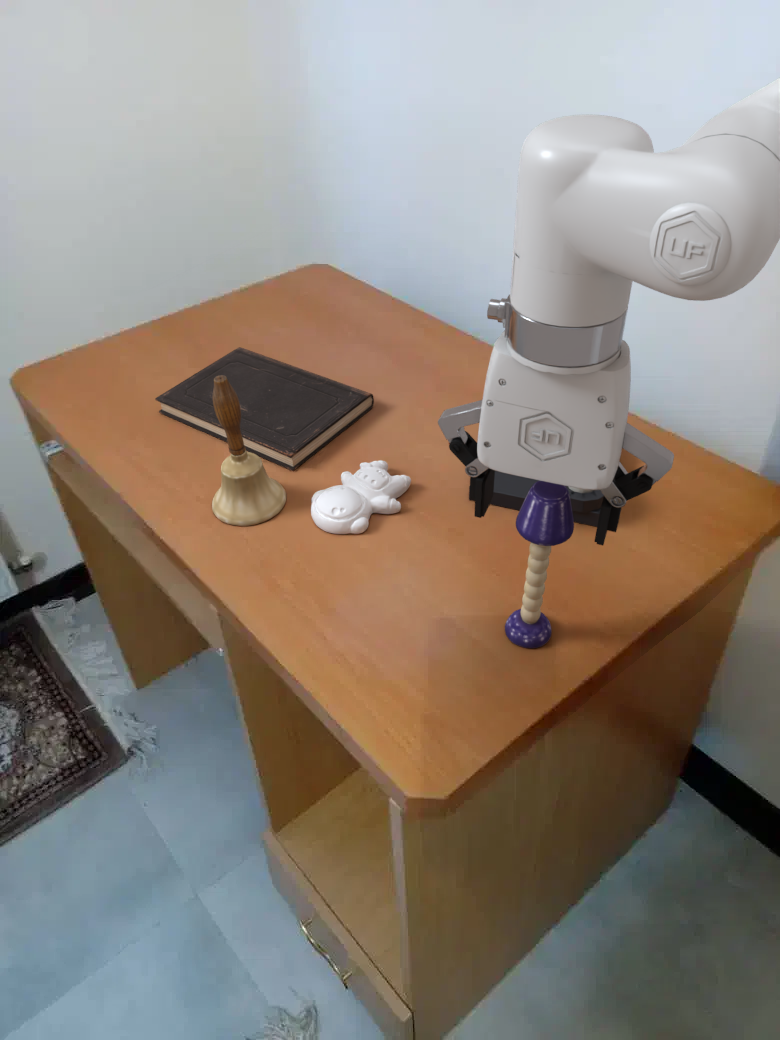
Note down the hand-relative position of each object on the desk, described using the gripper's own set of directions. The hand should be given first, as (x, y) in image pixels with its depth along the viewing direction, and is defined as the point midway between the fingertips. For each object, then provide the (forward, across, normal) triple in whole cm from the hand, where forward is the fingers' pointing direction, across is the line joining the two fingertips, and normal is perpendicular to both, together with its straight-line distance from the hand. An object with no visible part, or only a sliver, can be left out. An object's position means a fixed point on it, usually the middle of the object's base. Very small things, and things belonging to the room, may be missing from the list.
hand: (541, 519), depth 64 cm
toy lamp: (+14, 0, 0) cm, 14 cm away
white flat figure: (+14, -22, +12) cm, 28 cm away
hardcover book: (+14, -41, +25) cm, 50 cm away
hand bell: (+14, -34, +8) cm, 37 cm away
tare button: (+10, +1, +18) cm, 21 cm away
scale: (+14, -4, +23) cm, 27 cm away
